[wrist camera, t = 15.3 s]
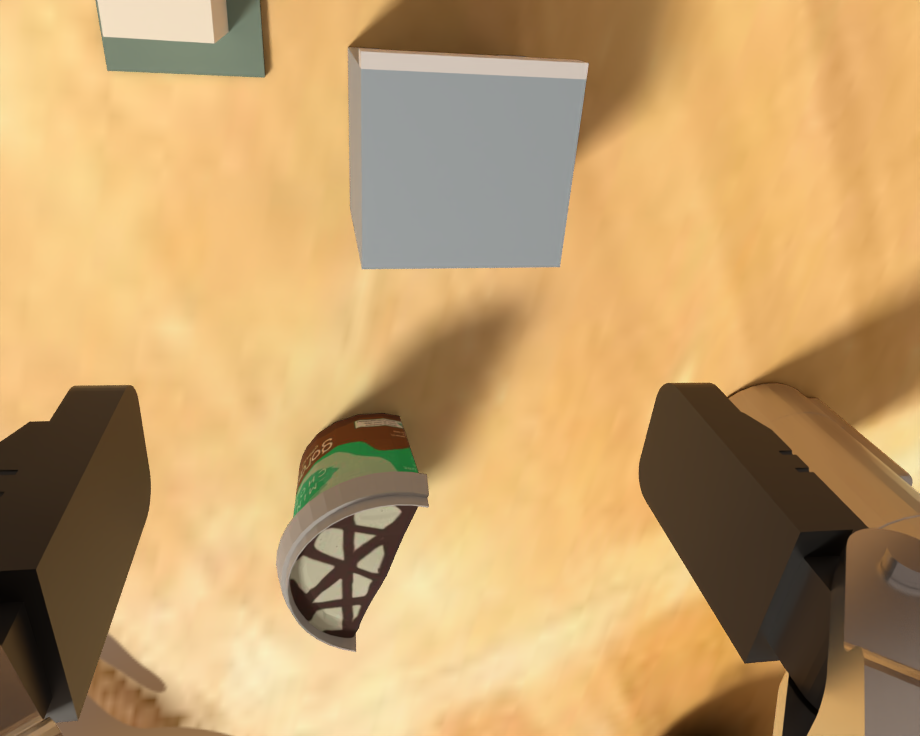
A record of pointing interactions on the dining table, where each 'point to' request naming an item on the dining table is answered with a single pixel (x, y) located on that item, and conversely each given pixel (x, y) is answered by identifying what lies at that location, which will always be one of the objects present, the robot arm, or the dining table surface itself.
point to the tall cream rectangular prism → (164, 19)
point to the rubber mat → (196, 49)
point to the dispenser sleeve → (461, 157)
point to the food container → (347, 523)
